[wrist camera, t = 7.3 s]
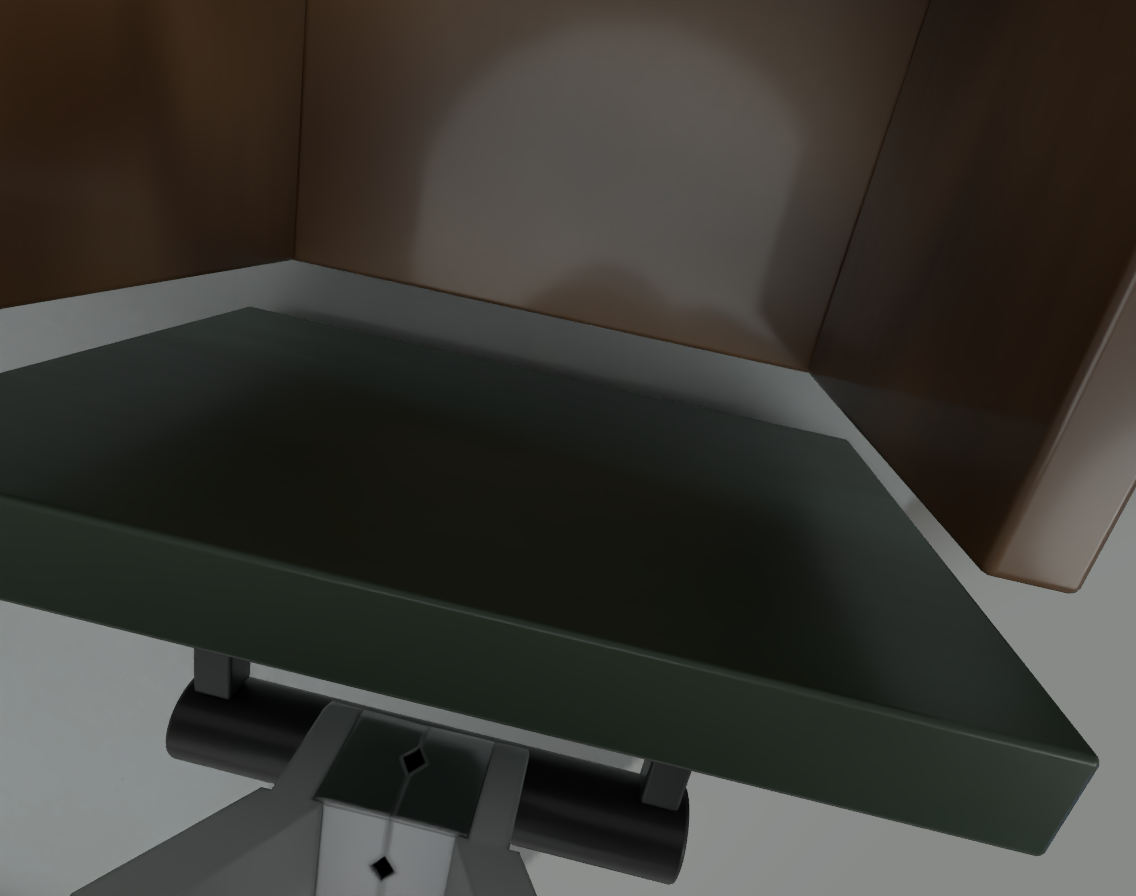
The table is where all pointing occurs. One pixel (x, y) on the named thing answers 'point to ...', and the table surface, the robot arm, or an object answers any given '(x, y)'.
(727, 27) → the drawer
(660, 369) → the table surface
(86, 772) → the table surface
